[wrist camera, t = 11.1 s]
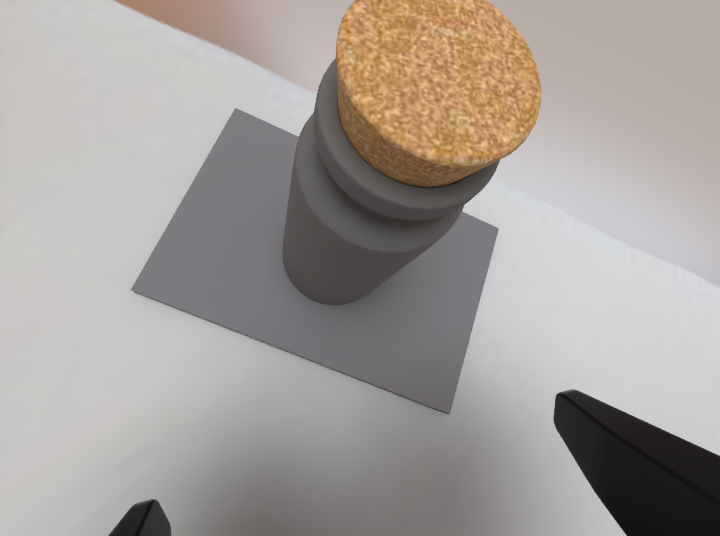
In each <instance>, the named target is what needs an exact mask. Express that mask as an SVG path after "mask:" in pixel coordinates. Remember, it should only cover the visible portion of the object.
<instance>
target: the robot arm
mask: <svg viewBox="0 0 720 536" xmlns="http://www.w3.org/2000/svg"><path fill="white" fill-rule="evenodd" d="M554 424H555V427H556V429H557V431H558V432H559V434H560V436H561V437H562V439H563V441H564V442H565V444H566V446H567V447H568V449H569V451H570V452H571V454H572V455H573V457H574V459H575V460H576V462H577V464H578V465H579V467H580V469H581V470H582V472H583V474H584V475H585V477H586V479H587V480H588V482H589V483H590V485H591V487H592V488H593V490H594V491H595V493H596V494H597V496H598V497H599V498H600V500H601V501H602V503H603V504H604V505H605V507H606V508H607V509H608V511H609V512H610V514H611V515H612V516H613V518H614V519H615V520H616V522H617V523H618V524H619V526H620V527H621V528H622V530H623V531H624V532H625V534H626V535H627V536H720V456H719V455H716V454H714V453H712V452H710V451H708V450H706V449H703V448H701V447H699V446H697V445H695V444H693V443H690V442H688V441H686V440H684V439H682V438H680V437H677V436H675V435H673V434H671V433H669V432H667V431H664V430H662V429H660V428H658V427H656V426H653V425H651V424H649V423H647V422H645V421H643V420H640V419H638V418H636V417H634V416H632V415H630V414H627V413H625V412H623V411H621V410H619V409H617V408H614V407H612V406H610V405H608V404H606V403H604V402H601V401H599V400H597V399H595V398H593V397H591V396H588V395H586V394H584V393H582V392H580V391H577V390H567V391H564V392H560V393H558V394H557V395H556V398H555V409H554ZM109 536H171V527H170V523H169V521H168V519H167V517H166V515H165V513H164V511H163V509H162V508H161V506H160V504H159V502H158V501H157V500H155V499H151V500H147V501H143V502H140V503H137V504H135V505H133V506H132V507H131V508H130V509H129V511H128V512H127V513H126V514H125V516H124V517H123V518H122V519H121V521H120V522H119V523H118V524H117V526H116V527H115V528H114V529H113V531H112V532H111V533H110V534H109Z"/></svg>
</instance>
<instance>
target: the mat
mask: <svg viewBox="0 0 720 536" xmlns="http://www.w3.org/2000/svg"><path fill="white" fill-rule="evenodd" d="M298 139H299V137H298V136H295V135H293V134H291V133H289V132H287V131H285V130H282V129H280V128H278V127H276V126H274V125H271V124H269V123H267V122H265V121H263V120H260V119H258V118H256V117H254V116H252V115H250V114H247V113H245V112H243V111H241V110H239V109H236V108H235V110H234V111H233V113H232V115H231V117H230V118H229V120H228V122H227V124H226V125H225V127H224V129H223V131H222V132H221V134H220V136H219V137H218V139H217V141H216V143H215V144H214V146H213V148H212V150H211V151H210V153H209V155H208V157H207V158H206V160H205V162H204V164H203V165H202V167H201V169H200V170H199V172H198V174H197V176H196V177H195V179H194V181H193V183H192V184H191V186H190V188H189V190H188V191H187V193H186V195H185V197H184V198H183V200H182V202H181V203H180V205H179V207H178V209H177V210H176V212H175V214H174V216H173V217H172V219H171V221H170V223H169V224H168V226H167V228H166V230H165V231H164V233H163V235H162V237H161V238H160V240H159V242H158V243H157V245H156V247H155V249H154V250H153V252H152V254H151V256H150V257H149V259H148V261H147V263H146V264H145V266H144V268H143V270H142V271H141V273H140V275H139V276H138V278H137V280H136V282H135V283H134V285H133V287H132V289H131V290H132V291H134V292H136V293H138V294H141V295H143V296H146V297H149V298H151V299H154V300H156V301H159V302H161V303H164V304H167V305H169V306H172V307H174V308H177V309H179V310H182V311H185V312H187V313H190V314H192V315H195V316H197V317H200V318H203V319H205V320H208V321H210V322H213V323H215V324H218V325H221V326H223V327H226V328H228V329H231V330H233V331H236V332H239V333H241V334H244V335H246V336H249V337H251V338H254V339H256V340H259V341H262V342H264V343H267V344H269V345H272V346H274V347H277V348H280V349H282V350H285V351H287V352H290V353H292V354H295V355H298V356H300V357H303V358H305V359H308V360H310V361H313V362H316V363H318V364H321V365H323V366H326V367H328V368H331V369H334V370H336V371H339V372H341V373H344V374H346V375H349V376H352V377H354V378H357V379H359V380H362V381H364V382H367V383H370V384H372V385H375V386H377V387H380V388H382V389H385V390H388V391H390V392H393V393H395V394H398V395H400V396H403V397H406V398H408V399H411V400H413V401H416V402H418V403H421V404H424V405H426V406H429V407H431V408H434V409H436V410H439V411H441V412H444V413H448V414H450V410H451V406H452V402H453V399H454V395H455V391H456V387H457V384H458V380H459V376H460V372H461V368H462V365H463V361H464V357H465V353H466V350H467V346H468V342H469V338H470V335H471V331H472V327H473V323H474V320H475V316H476V312H477V308H478V305H479V301H480V297H481V293H482V290H483V286H484V282H485V278H486V274H487V271H488V267H489V263H490V259H491V256H492V252H493V248H494V244H495V241H496V237H497V233H498V229H499V228H497V227H494V226H492V225H490V224H488V223H486V222H483V221H481V220H479V219H477V218H475V217H473V216H470V215H468V214H466V213H464V212H461V214H460V216H459V218H458V219H457V221H456V222H455V223H454V225H453V226H452V227H451V229H450V230H449V231H448V232H447V233H446V234H445V235H444V236H443V237H442V238H441V239H439V240H438V241H437V242H436V243H435V244H433V245H432V246H431V247H430V248H428V249H427V250H426V251H425V252H423V253H422V254H421V255H419V256H418V257H417V258H416V259H414V260H413V261H411V262H410V263H409V264H407V265H406V266H405V267H403V268H402V269H401V270H399V271H398V272H397V273H395V274H394V275H393V276H391V277H390V278H388V279H387V280H386V281H384V282H383V283H382V284H380V285H379V286H378V287H376V288H375V289H374V290H372V291H371V292H370V293H368V294H366V295H365V296H363V297H362V298H360V299H358V300H356V301H354V302H351V303H348V304H342V305H328V304H322V303H319V302H316V301H314V300H312V299H309V298H308V297H306V296H305V295H303V294H302V293H301V292H300V291H299V290H298V289H297V288H296V287H295V286H294V285H293V284H292V282H291V281H290V279H289V277H288V275H287V273H286V271H285V267H284V263H283V252H282V250H283V237H284V230H285V222H286V214H287V206H288V198H289V190H290V183H291V175H292V167H293V162H294V156H295V151H296V146H297V142H298Z"/></svg>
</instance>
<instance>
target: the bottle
mask: <svg viewBox="0 0 720 536" xmlns="http://www.w3.org/2000/svg"><path fill="white" fill-rule="evenodd" d="M540 103H541V85H540V79H539V74H538V69H537V66H536V63H535V60H534V58H533V55H532V53H531V51H530V49H529V47H528V45H527V44H526V42H525V40H524V38H523V37H522V36H521V34H520V33H519V32H518V31H517V29H516V28H515V27H514V25H513V24H512V23H511V22H510V21H509V20H508V19H507V18H506V17H505V16H504V15H503V14H502V13H501V12H500V11H499V10H498V9H497V8H495V7H494V6H493V5H491V4H490V3H489V2H487V1H486V0H355V1H354V2H353V3H352V4H351V6H350V7H349V9H348V10H347V12H346V14H345V15H344V17H343V19H342V21H341V25H340V27H339V31H338V36H337V42H336V59H335V60H334V61H333V62H332V63H331V65H330V66H329V68H328V69H327V71H326V72H325V74H324V75H323V78H322V81H321V83H320V86H319V89H318V93H317V98H316V104H315V110H314V113H313V114H312V115H311V117H310V118H309V119H308V121H307V122H306V123H305V125H304V127H303V129H302V131H301V133H300V136H299V139H298V142H297V146H296V151H295V156H294V162H293V167H292V175H291V183H290V190H289V198H288V206H287V214H286V222H285V230H284V237H283V250H282V252H283V263H284V267H285V271H286V273H287V275H288V277H289V279H290V281H291V282H292V284H293V285H294V286H295V287H296V288H297V289H298V290H299V291H300V292H301V293H302V294H303V295H305V296H306V297H308V298H309V299H312V300H314V301H316V302H319V303H322V304H328V305H342V304H348V303H351V302H354V301H356V300H358V299H360V298H362V297H363V296H365V295H366V294H368V293H370V292H371V291H372V290H374V289H375V288H376V287H378V286H379V285H380V284H382V283H383V282H384V281H386V280H387V279H388V278H390V277H391V276H393V275H394V274H395V273H397V272H398V271H399V270H401V269H402V268H403V267H405V266H406V265H407V264H409V263H410V262H411V261H413V260H414V259H416V258H417V257H418V256H419V255H421V254H422V253H423V252H425V251H426V250H427V249H428V248H430V247H431V246H432V245H433V244H435V243H436V242H437V241H438V240H439V239H441V238H442V237H443V236H444V235H445V234H446V233H447V232H448V231H449V230H450V229H451V227H452V226H453V225H454V223H455V222H456V221H457V219H458V218H459V216H460V214H461V212H462V210H463V207H464V205H465V204H466V203H467V202H468V201H470V200H471V199H472V198H473V197H474V196H475V195H477V194H478V193H479V192H480V191H481V190H482V189H483V188H484V187H485V186H486V184H487V183H488V182H489V181H490V179H491V178H492V176H493V175H494V173H495V171H496V168H497V166H498V163H499V161H500V159H502V158H504V157H506V156H507V155H509V154H511V153H512V152H513V151H514V150H516V149H517V148H518V147H519V146H520V145H521V144H522V143H523V142H524V141H525V140H526V138H527V136H528V135H529V133H530V132H531V130H532V129H533V127H534V125H535V123H536V120H537V117H538V113H539V109H540Z"/></svg>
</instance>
